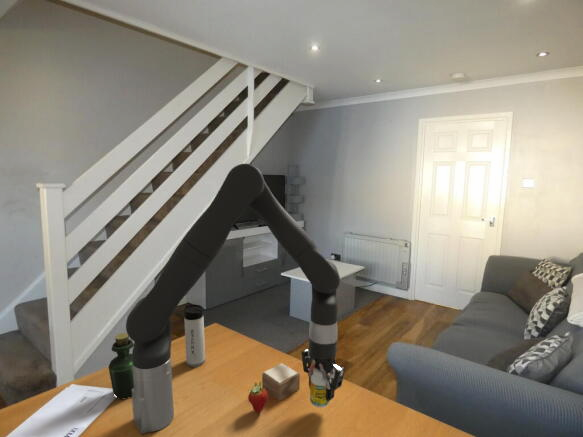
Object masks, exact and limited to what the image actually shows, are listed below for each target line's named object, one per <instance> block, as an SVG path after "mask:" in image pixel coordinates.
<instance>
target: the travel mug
mask: <svg viewBox="0 0 583 437" xmlns="http://www.w3.org/2000/svg"><path fill="white" fill-rule="evenodd" d="M183 310H184V311H183V314H184V318H183V321H184V336H185V338H184V342H185V359H186V360H185V361H186V362H185V363H186V365H187V366H188V367H190V368H196V367H200V366H202V365H203V364H204V363H205V362H206V350H205V349H206V348H205V346H206V345H205V343H206V342H205V324H204V321H205V320H204V318H205V317H204V307H203V306H202V305H201V304H200V305H199V304H191V303H189V304H186V305H185V306H184V309H183Z"/></svg>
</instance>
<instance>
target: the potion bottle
mask: <svg viewBox="0 0 583 437" xmlns="http://www.w3.org/2000/svg"><path fill="white" fill-rule="evenodd" d="M114 339H115V342H114V343H113V344H112V346H111V351H112V352H114V353H116V355H117V356H115V357H114V358H112V359H111V360H110V362H109V364H108V367H107V368H108V373H109V377H110V383H111V388H112V393H114V394H115V395H116V396H117V398H120V399H119V400H124V399H123V398H127V399H129V398H128V397H130V398H132V397H131V396H132V389H133V388H134V379H133V365H132V353H130V350H131V349H133V347H134V341H133V340H132V339H131V338H130V337H129V336H128V334H127V332H121V333H119V334H118V333H117V334H116V335H115V336H114ZM114 394H113V395H114ZM117 398H116V399H117Z"/></svg>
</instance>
